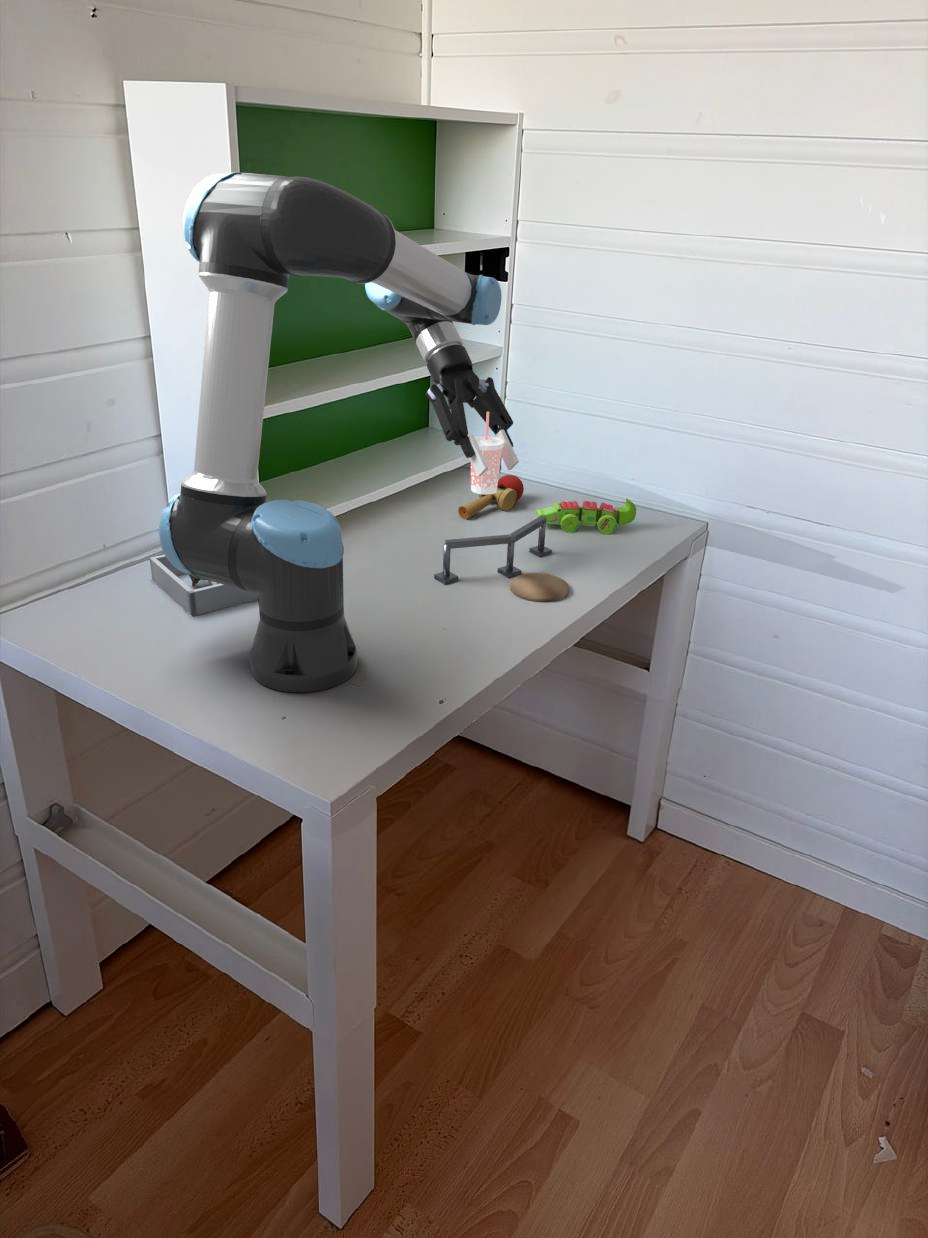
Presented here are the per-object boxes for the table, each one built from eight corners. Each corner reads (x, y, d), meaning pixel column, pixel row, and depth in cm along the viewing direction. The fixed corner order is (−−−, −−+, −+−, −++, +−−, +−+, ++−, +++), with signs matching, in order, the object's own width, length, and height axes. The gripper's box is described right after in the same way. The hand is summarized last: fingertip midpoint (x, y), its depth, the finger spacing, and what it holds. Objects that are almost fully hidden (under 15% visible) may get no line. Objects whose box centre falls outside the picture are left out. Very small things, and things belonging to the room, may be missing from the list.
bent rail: (458, 592, 159) (459, 552, 155) (434, 578, 164) (435, 538, 160) (566, 560, 173) (570, 523, 169) (541, 548, 178) (544, 511, 174)
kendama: (481, 531, 189) (535, 498, 200) (476, 501, 186) (530, 470, 197) (453, 527, 194) (506, 495, 205) (447, 498, 191) (501, 468, 202)
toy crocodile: (536, 532, 186) (538, 503, 183) (534, 520, 191) (536, 491, 189) (636, 536, 186) (639, 507, 183) (631, 524, 192) (634, 495, 189)
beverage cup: (504, 487, 168) (509, 409, 162) (496, 497, 163) (501, 417, 157) (471, 483, 170) (475, 405, 164) (462, 493, 164) (465, 414, 158)
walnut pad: (536, 607, 155) (537, 602, 155) (498, 585, 162) (498, 581, 162) (580, 592, 160) (581, 588, 160) (541, 572, 167) (541, 568, 167)
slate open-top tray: (192, 616, 148) (189, 593, 146) (152, 579, 159) (149, 557, 157) (270, 595, 155) (269, 573, 153) (227, 562, 167) (225, 541, 165)
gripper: (477, 362, 174) (529, 471, 170) (391, 372, 164) (444, 488, 159) (496, 338, 168) (551, 449, 164) (409, 346, 157) (464, 466, 153)
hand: (498, 468), depth 162 cm, fingers closed on beverage cup, 6 cm apart
